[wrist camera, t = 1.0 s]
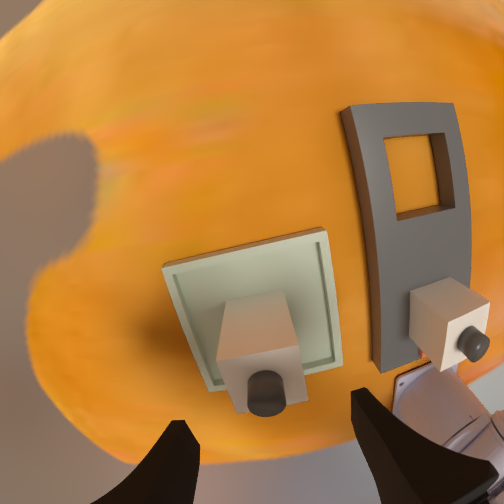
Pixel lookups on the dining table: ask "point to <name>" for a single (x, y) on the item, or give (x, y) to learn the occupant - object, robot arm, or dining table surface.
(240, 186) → the dining table surface
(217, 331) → the tray
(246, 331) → the plug
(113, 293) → the dining table surface
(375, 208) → the power strip
